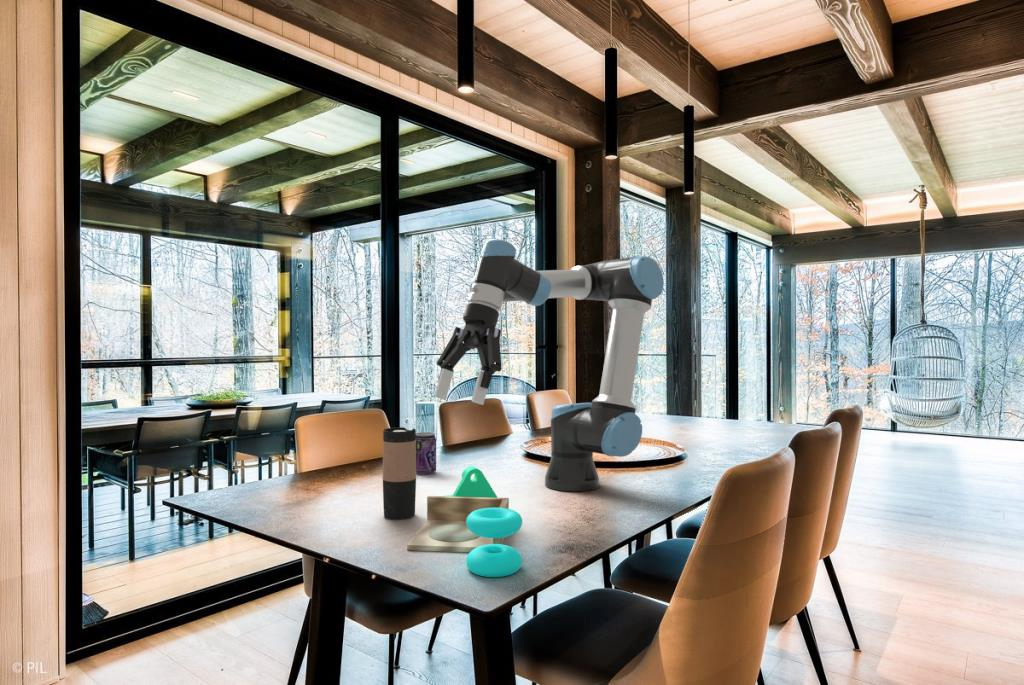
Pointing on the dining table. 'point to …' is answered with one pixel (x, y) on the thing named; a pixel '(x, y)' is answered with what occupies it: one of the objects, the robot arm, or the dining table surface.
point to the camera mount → (473, 485)
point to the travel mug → (399, 473)
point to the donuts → (494, 556)
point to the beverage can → (425, 453)
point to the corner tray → (453, 524)
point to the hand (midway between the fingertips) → (457, 400)
